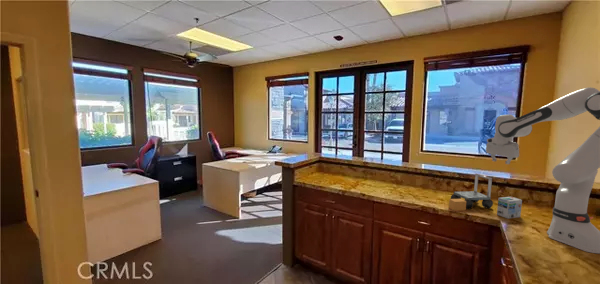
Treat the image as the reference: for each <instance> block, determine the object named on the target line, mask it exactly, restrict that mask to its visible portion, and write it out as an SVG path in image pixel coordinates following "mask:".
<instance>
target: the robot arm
mask: <svg viewBox="0 0 600 284" xmlns="http://www.w3.org/2000/svg"><path fill="white" fill-rule="evenodd" d="M587 112H588V113H589V114H591V115H592V116H593V117H594V118H595V119H596V120H597V121H598V120H599V121H600V90H599V89H597V88H595V87H585V88H582V89H578V90H575V91H573V92H570V93H568V94H566V95H564V96H561V97H559V98H558V99H555V100H553V101H552V102H550V103H547V104H546V105H544V106H541V107H540V108H538V109H536V110H533V111H530V112H527V113H526V114H523V115H521V116H519V117H515V116H514V115H513V114H501V115H499V116H497V117H496V119H495V125H494V130H495V132H494V134H493V135H494V136H493V137H490V138H487V139H486V147H485V152H486V154H490V157H491V159H492V160H491V161H492V162H497V161H498V160H497V158H496V156H502V157H506V158H507V160H505V162H504V163H505V165H510V164H511V161H512V160H513V159H515V158H519V157H520V148H519V146H520V145H519V143H517V142H516V141H513V138H519V137H520V138H521V137H526V136H529V135H530V134H531V133H532V131H533V125H536V124H538V123H541V122H543V123H544V122H551V121H553V122H554V121H563V120H568V119H570V118H573V117H576V116H578V115H582V114H584V113H587ZM599 169H600V126H599V127H598V128H597V129H596V130H595V131H594V132H593V133H591V135H589V137H588V138H587V139H586V140H585V141H584V142H583V143H582V144H581V145H579V146H578V147H577V148H576V149H574V150H573V151H572V152H570V154H568V155H567V156H566V157H564V159H563V160H561V161H560V162H559V163H557V165H555V166H554V168H552V176H553V178H554V179H555V180H556V181H557V182H559V183H560V185H559V186H558V189H557V190H556V194H555V200H554V201H555V202H554V206H553V207H552V219H551V222H550V226H549V228H548V230H547V231H546V234H547V236H548V238H549V239H551V240H555V241H557V242H559V243H563V244H565V245H567V246H568V245H569V246H571V247H572V248H576V249H579V250H581V251H584V252H586V253H590V254H591V253H593V254H600V230H599V229H598V228H597V227H596V226H595V225H594V224H592V222H591V220H592V219H593V218H594V216H589V214H588V205H589V199H590V195H591V193H592V189H593V188H594V187H593V186H594V183H595V181H596V180H595V179H596V176H597V174H598V171H599Z"/></svg>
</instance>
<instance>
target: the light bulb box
mask: <svg viewBox="0 0 600 284" xmlns="http://www.w3.org/2000/svg"><path fill="white" fill-rule="evenodd" d="M497 198H498V201H497V208H496V209H497V212H496V215H497V216H500V217H501V218H505V219H515V218H521V216H522V215H521V214H522V206H523V205H522V204H523V199H520V198H517V197H513V196H504V197H497Z"/></svg>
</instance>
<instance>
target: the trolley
mask: <svg viewBox="0 0 600 284" xmlns="http://www.w3.org/2000/svg"><path fill="white" fill-rule="evenodd" d="M474 176H475V177H474V186H473V187H474V188H473V191H472V190H471V191H469V190H468V191H453V194H451V196H450V199H463V200H465V201H466V210H471V209H472V208H474V204H476V203H478V202H479V201H481V205H482V207H484V208H485V209H491V208H492V207H493V206H494V202H493V199H491V198H492V197H491V195H492V194H491V193H492V192H491V191H492V182H493V177H490V176H487V175H483V174H481V173H480V174H479V173H475V174H474ZM479 178H483V179H486V180H488V181H487V182H488V185H487V194H486V195H485V194H483V193H481V192H478V184H479Z"/></svg>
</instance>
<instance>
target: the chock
mask: <svg viewBox="0 0 600 284" xmlns="http://www.w3.org/2000/svg"><path fill="white" fill-rule="evenodd" d="M448 209H450V210H451V211H458V212H459V211H466V210H467V209H466V201H465V199H463V198H461V199H451V198H449V199H448Z"/></svg>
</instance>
